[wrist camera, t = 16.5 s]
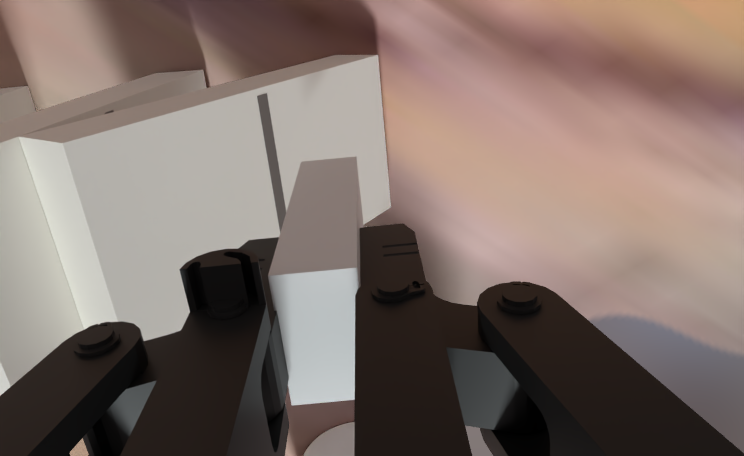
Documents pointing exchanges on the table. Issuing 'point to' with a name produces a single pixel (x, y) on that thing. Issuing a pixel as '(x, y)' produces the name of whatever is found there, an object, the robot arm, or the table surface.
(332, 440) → the cup
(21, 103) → the domino
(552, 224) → the table surface
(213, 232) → the domino
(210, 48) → the table surface
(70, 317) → the domino
